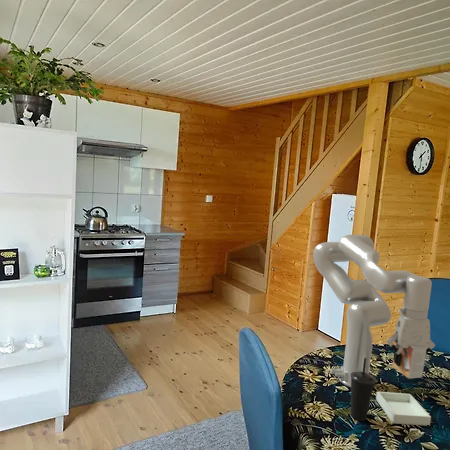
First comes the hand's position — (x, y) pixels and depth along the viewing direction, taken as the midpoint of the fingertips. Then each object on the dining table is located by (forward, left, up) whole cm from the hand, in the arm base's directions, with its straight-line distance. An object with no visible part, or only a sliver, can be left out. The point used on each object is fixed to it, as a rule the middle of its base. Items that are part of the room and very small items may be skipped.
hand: (407, 364), depth 133 cm
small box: (0, 0, -3) cm, 3 cm away
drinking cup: (-16, -5, -17) cm, 24 cm away
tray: (0, 0, -17) cm, 17 cm away
